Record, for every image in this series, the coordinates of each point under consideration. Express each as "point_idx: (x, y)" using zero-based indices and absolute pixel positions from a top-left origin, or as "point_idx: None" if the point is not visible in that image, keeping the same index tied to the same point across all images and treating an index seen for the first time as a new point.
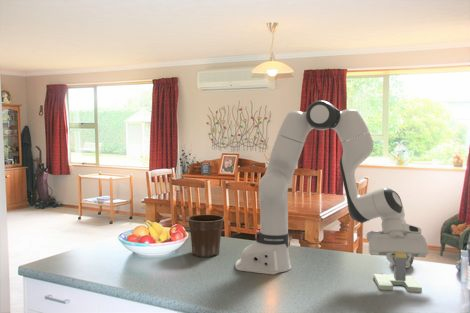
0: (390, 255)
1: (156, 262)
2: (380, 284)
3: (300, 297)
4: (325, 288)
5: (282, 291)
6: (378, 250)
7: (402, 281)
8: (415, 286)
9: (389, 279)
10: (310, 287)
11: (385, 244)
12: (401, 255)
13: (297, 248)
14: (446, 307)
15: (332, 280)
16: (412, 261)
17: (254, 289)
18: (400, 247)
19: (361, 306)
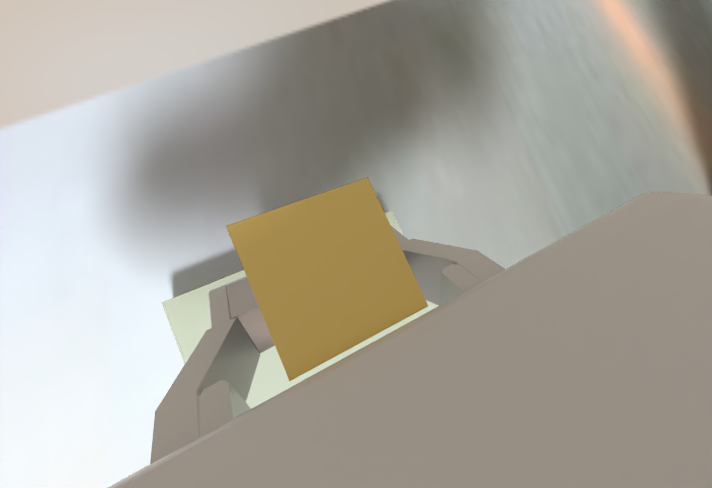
0: (446, 270)
1: None
2: (391, 223)
3: (561, 25)
4: (548, 126)
5: (617, 49)
6: (607, 215)
7: None
8: (205, 300)
9: (373, 336)
10: (585, 113)
11: (681, 327)
12: (300, 201)
13: None
14: (19, 135)
15: (571, 221)
16: None
17: (668, 37)
18: (387, 444)
19: (388, 17)
